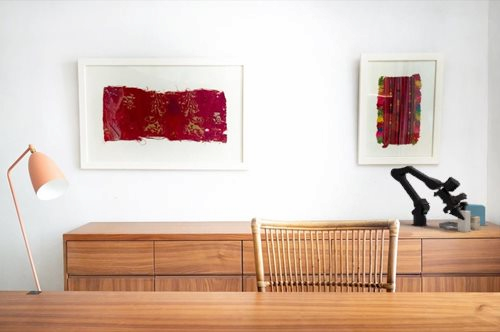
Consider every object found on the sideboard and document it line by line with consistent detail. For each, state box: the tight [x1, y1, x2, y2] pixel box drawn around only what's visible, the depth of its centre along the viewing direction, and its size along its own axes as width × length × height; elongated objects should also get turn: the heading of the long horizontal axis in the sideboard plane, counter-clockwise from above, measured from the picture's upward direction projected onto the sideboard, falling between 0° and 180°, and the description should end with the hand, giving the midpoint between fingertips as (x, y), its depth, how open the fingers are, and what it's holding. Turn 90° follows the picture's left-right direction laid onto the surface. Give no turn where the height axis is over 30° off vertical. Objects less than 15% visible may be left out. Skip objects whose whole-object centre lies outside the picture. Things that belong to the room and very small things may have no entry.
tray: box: [438, 220, 458, 228], centre depth 244 cm, size 11×11×2 cm
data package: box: [466, 203, 486, 227], centre depth 253 cm, size 12×4×12 cm, turn 72°
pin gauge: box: [439, 225, 458, 230], centre depth 239 cm, size 10×2×2 cm
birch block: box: [470, 216, 481, 231], centre depth 238 cm, size 6×6×7 cm
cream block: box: [457, 210, 471, 233], centre depth 231 cm, size 4×5×11 cm
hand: (466, 219), depth 230 cm, fingers closed on cream block, 5 cm apart
